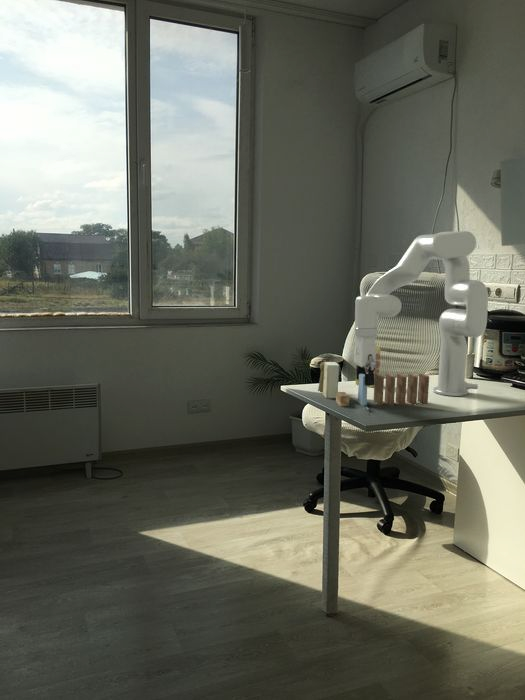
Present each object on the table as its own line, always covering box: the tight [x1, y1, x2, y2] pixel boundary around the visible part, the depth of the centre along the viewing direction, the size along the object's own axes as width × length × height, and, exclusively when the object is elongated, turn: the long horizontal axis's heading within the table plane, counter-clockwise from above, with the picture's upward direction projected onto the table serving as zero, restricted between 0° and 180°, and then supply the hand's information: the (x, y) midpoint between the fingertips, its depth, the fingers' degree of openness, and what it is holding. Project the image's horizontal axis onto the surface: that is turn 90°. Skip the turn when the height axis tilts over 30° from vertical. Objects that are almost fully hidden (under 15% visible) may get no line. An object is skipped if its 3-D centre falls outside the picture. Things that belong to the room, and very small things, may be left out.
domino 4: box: [395, 373, 408, 406], centre depth 203 cm, size 2×5×10 cm, turn 8°
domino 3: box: [384, 373, 396, 406], centre depth 203 cm, size 2×5×10 cm, turn 7°
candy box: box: [355, 347, 381, 388], centre depth 232 cm, size 9×4×15 cm, turn 39°
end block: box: [335, 391, 350, 407], centre depth 201 cm, size 3×6×4 cm, turn 7°
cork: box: [317, 361, 326, 393], centre depth 220 cm, size 6×6×11 cm
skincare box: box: [322, 361, 340, 399], centre depth 211 cm, size 6×4×12 cm
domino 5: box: [406, 373, 419, 405], centre depth 204 cm, size 2×5×10 cm, turn 7°
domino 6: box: [417, 373, 430, 405], centre depth 204 cm, size 2×5×10 cm, turn 8°
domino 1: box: [357, 374, 368, 407], centre depth 201 cm, size 2×5×10 cm, turn 7°
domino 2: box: [373, 373, 385, 406], centre depth 202 cm, size 2×5×10 cm, turn 7°
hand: (364, 382), depth 201 cm, fingers open, 9 cm apart
